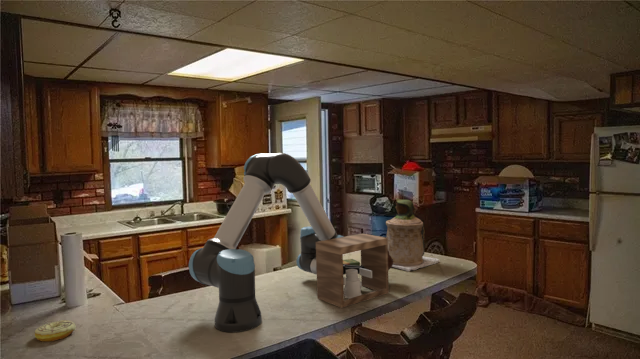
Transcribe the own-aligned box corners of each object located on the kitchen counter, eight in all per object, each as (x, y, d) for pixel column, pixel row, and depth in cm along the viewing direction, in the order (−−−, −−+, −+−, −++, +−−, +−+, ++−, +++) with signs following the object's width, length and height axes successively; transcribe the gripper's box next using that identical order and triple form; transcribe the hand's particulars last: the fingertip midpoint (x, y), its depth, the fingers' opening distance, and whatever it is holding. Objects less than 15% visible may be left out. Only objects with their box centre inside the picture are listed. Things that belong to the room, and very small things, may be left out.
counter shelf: (341, 307, 153) (339, 247, 152) (317, 298, 164) (315, 241, 163) (388, 293, 167) (387, 237, 166) (363, 285, 178) (362, 233, 177)
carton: (322, 270, 204) (321, 261, 204) (352, 266, 210) (352, 257, 210) (329, 274, 196) (329, 265, 196) (360, 270, 203) (360, 261, 202)
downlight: (356, 291, 171) (354, 266, 170) (367, 296, 165) (365, 270, 164) (339, 296, 166) (337, 270, 166) (350, 301, 160) (348, 274, 160)
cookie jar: (411, 272, 195) (409, 202, 193) (369, 263, 213) (368, 199, 211) (441, 262, 212) (440, 197, 210) (400, 254, 230) (399, 194, 228)
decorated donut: (83, 331, 139) (82, 320, 139) (51, 345, 129) (50, 333, 129) (60, 327, 143) (59, 316, 143) (27, 340, 133) (26, 328, 133)
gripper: (346, 270, 187) (382, 281, 170) (299, 282, 172) (333, 295, 155) (346, 253, 187) (381, 262, 170) (298, 263, 172) (332, 274, 155)
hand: (358, 278), depth 163 cm, fingers open, 13 cm apart
